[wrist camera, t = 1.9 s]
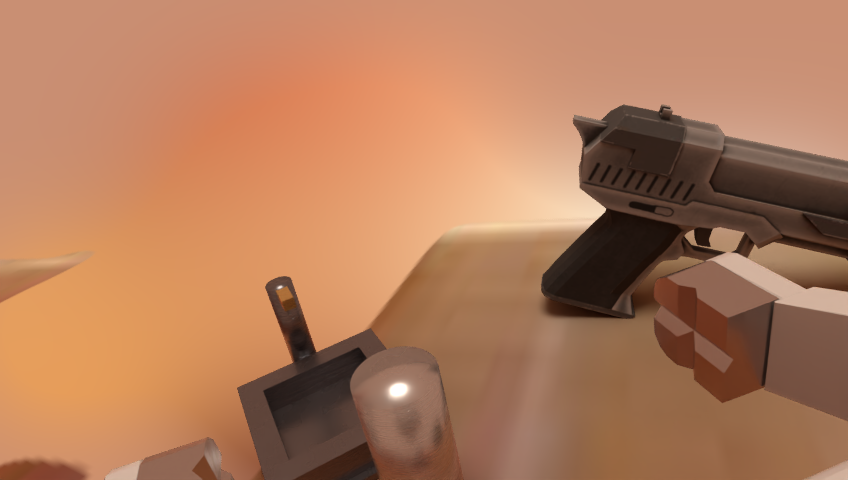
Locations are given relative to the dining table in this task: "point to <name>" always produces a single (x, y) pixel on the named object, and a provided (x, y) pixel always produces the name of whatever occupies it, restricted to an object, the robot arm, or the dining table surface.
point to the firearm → (688, 202)
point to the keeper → (309, 402)
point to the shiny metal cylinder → (406, 416)
